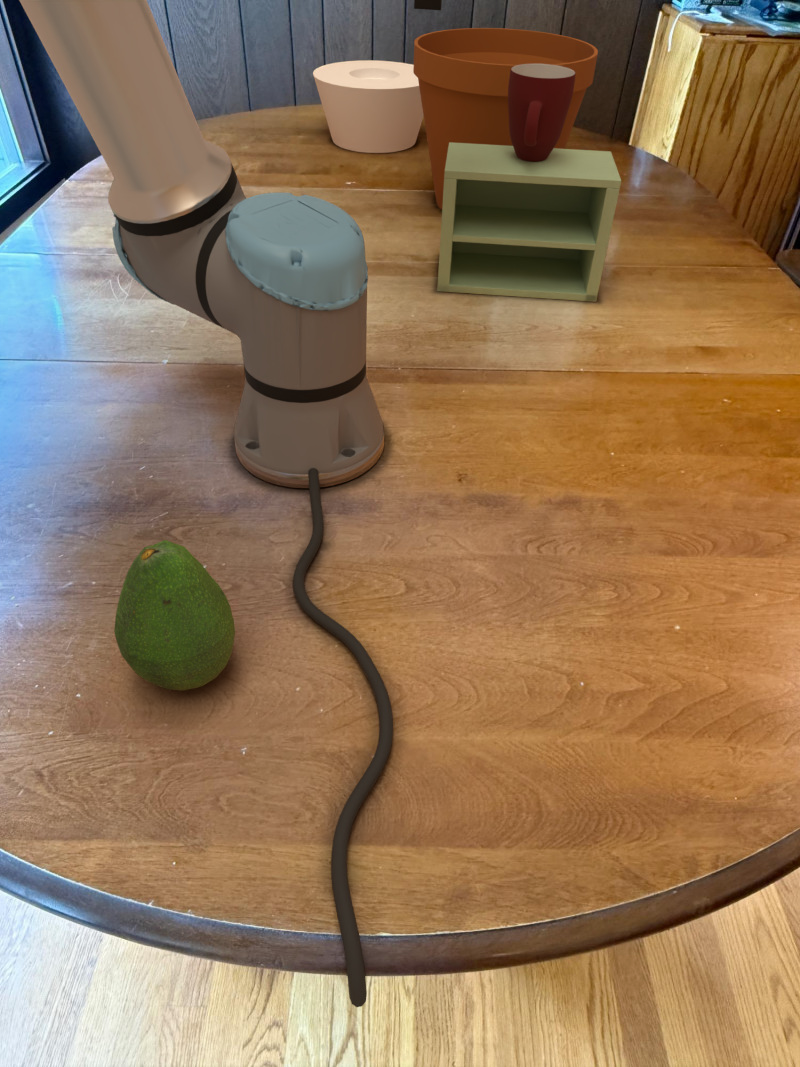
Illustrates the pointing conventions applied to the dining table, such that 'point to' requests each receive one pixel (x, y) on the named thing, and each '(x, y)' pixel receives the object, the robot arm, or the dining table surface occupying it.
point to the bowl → (370, 104)
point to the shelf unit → (526, 222)
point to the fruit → (173, 619)
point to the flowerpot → (486, 84)
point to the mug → (538, 108)
